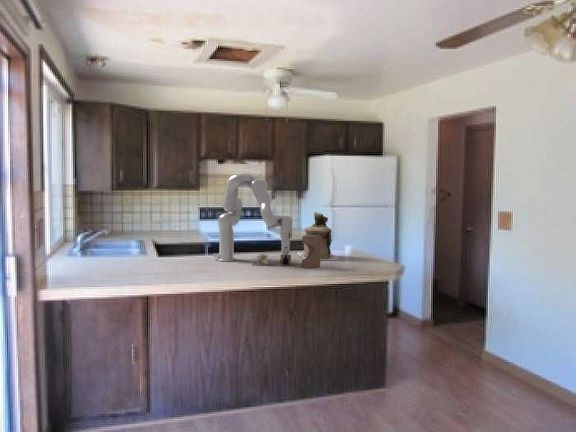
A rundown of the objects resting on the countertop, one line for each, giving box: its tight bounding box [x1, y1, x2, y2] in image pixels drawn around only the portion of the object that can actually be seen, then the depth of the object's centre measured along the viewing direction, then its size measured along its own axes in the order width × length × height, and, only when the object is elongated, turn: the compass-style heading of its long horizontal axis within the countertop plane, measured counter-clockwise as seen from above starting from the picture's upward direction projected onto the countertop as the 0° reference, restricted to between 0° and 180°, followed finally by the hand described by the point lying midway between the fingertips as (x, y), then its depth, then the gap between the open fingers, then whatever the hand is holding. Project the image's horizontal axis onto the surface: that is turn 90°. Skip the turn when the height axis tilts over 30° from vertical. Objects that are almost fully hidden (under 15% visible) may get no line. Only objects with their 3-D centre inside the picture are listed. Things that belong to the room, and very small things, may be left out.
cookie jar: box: [296, 211, 340, 262], centre depth 344 cm, size 25×25×32 cm
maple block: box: [256, 253, 269, 265], centre depth 317 cm, size 6×6×6 cm
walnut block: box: [280, 253, 292, 267], centre depth 317 cm, size 6×6×6 cm
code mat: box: [251, 262, 297, 267], centre depth 318 cm, size 28×12×1 cm, turn 90°
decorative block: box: [301, 235, 321, 269], centre depth 310 cm, size 11×6×20 cm, turn 127°
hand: (285, 262), depth 318 cm, fingers closed on walnut block, 6 cm apart
